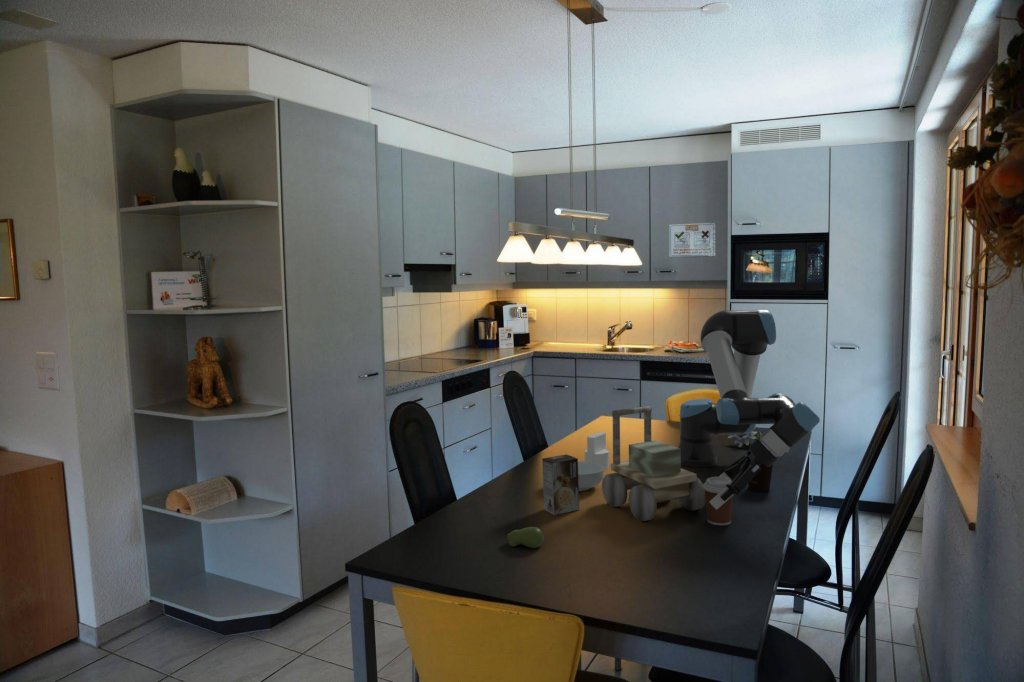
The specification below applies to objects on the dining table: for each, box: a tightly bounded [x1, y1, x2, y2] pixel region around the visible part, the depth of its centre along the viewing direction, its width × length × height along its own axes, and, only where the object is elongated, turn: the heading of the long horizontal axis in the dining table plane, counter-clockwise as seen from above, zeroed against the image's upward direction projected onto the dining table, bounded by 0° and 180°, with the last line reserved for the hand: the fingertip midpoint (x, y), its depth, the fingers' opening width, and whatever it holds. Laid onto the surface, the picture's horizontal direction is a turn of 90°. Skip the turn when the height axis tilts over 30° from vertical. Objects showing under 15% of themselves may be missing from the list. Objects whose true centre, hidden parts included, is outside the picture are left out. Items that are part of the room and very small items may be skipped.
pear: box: [506, 526, 545, 549], centre depth 176 cm, size 6×5×10 cm
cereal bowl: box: [578, 460, 605, 492], centre depth 224 cm, size 17×17×7 cm
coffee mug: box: [747, 463, 774, 493], centre depth 219 cm, size 12×9×10 cm
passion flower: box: [726, 425, 763, 448], centre depth 274 cm, size 11×11×12 cm
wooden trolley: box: [601, 405, 706, 522], centre depth 202 cm, size 24×21×29 cm
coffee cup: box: [702, 476, 734, 527], centre depth 190 cm, size 9×9×12 cm
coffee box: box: [541, 454, 580, 516], centre depth 202 cm, size 9×6×16 cm
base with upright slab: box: [584, 431, 610, 470], centre depth 248 cm, size 9×9×12 cm
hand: (711, 497), depth 190 cm, fingers open, 13 cm apart
